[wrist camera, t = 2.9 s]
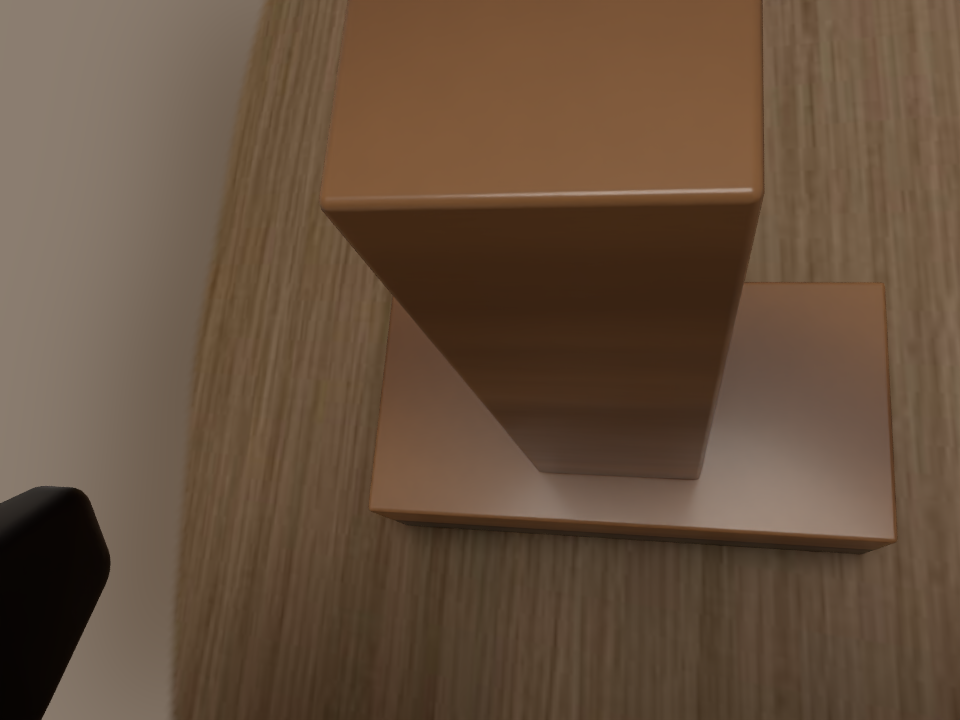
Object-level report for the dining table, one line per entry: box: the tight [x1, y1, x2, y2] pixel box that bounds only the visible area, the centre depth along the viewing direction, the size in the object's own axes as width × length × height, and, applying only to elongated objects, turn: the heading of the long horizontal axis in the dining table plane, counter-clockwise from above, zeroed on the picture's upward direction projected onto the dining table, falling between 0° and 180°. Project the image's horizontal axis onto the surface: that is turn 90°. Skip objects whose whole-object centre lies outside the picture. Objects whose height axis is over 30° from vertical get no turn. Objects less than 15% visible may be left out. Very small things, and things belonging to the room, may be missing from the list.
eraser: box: [319, 0, 898, 554], centre depth 12 cm, size 4×9×13 cm, turn 85°
